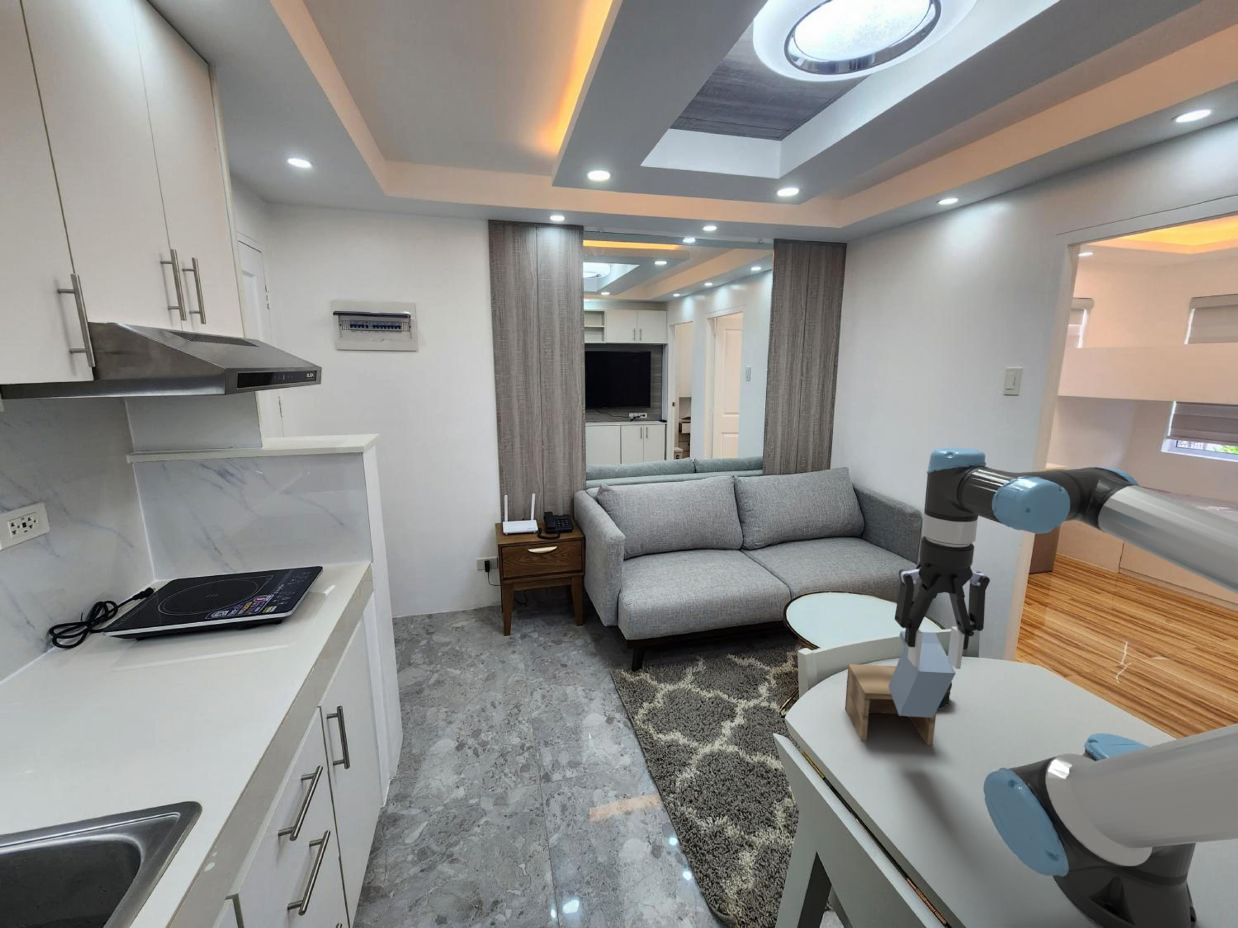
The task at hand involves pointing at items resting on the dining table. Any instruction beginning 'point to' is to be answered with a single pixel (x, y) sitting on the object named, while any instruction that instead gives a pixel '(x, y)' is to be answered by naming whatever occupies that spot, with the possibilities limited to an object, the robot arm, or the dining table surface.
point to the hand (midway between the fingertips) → (933, 662)
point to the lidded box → (921, 679)
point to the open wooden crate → (877, 699)
